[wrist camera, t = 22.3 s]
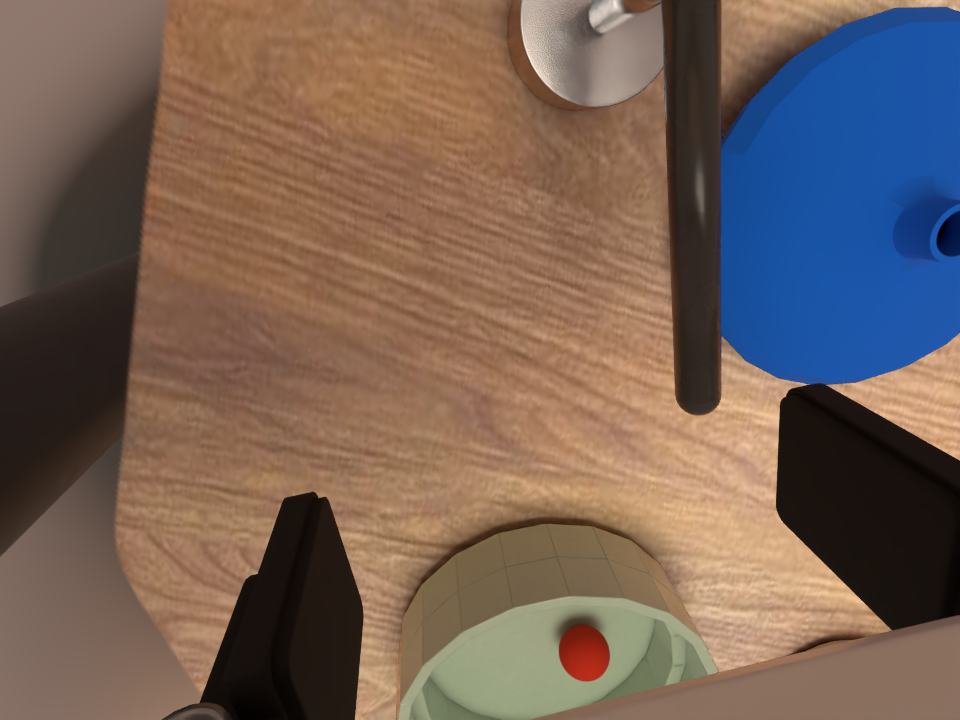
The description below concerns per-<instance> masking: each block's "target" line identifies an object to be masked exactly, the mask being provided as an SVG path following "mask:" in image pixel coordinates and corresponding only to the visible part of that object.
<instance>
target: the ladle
mask: <svg viewBox="0 0 960 720" xmlns="http://www.w3.org/2000/svg"><path fill="white" fill-rule="evenodd" d="M507 34H508V45H509V50H510V55H511V58H512V62H513V65H514V67H515V69H516V71H517V73H518V75H519V77H520V78H521V80H522V82H523V83H524V84H525V86H526V87H527V88H528V89H529V90H530V91H531V92H532V93H533V94H534V95H535V96H536V97H537V98H539V99H540V100H541V101H543V102H544V103H546V104H548V105H550V106H552V107H555V108H558V109H562V110H567V111H584V110H591V109H596V108H602V107H608V106H612V105H616V104H619V103H621V102H624V101H626V100H628V99H630V98H632V97H634V96H635V95H637V94H638V93H640V92H641V91H642V90H644V89H645V88H646V87H647V86H648V85H649V84H650V83H651V82H652V81H653V80H654V79H655V78H656V77H657V75H658V74H659V73H660V72H661V70H662V69H663V67H664V94H665V122H666V150H667V179H668V207H669V235H670V263H671V291H672V319H673V348H674V376H675V396H676V400H677V403H678V404H679V406H680V407H681V408H682V409H683V410H684V411H685V412H687V413H689V414H692V415H705V414H708V413H710V412H712V411H713V410H714V409H715V408H716V407H717V406H718V405H719V403H720V400H721V0H512V3H511V7H510V11H509V17H508V31H507Z"/></svg>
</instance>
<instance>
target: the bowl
mask: <svg viewBox="0 0 960 720" xmlns="http://www.w3.org/2000/svg"><path fill="white" fill-rule="evenodd" d="M576 625H589V626H592V627H594V628H595V629H597V630H598V631H599V632H600V633H601V634H602V635H603V636H604V637H605V639H606V641H607V643H608V646H609V650H610V661H609V665H608V668H607V670H606V671H605V673H604V674H603V675H602V676H601V677H600V678H598V679H596V680H594V681H590V682H584V681H579V680H577V679H575V678H573V677H571V676H570V675H569V674H568V673H567V672H566V671H565V669H564V668H563V666H562V664H561V661H560V658H559V644H560V640H561V638H562V636H563V635H564V633H565V632H566V631H567V630H568V629H570V628H571V627H573V626H576ZM715 673H719V672H718V669H717V667H716V665H715V663H714V661H713V659H712V657H711V655H710V653H709V651H708V649H707V646H706V644H705V642H704V640H703V639H702V637H701V635H700V633H699V632H698V630H697V628H696V626H695V625H694V623H693V621H692V619H691V618H690V616H689V614H688V612H687V610H686V609H685V607H684V605H683V603H682V602H681V600H680V598H679V597H678V595H677V593H676V591H675V590H674V588H673V586H672V584H671V583H670V581H669V579H668V577H667V576H666V574H665V572H664V570H663V569H662V567H661V566H660V564H659V563H658V562H656V561H655V560H654V559H653V558H652V557H651V556H649V555H648V554H647V553H646V552H645V551H643V550H642V549H641V548H640V547H639V546H637V545H636V544H635V543H634V542H633V541H631V540H629V539H626V538H623V537H621V536H618V535H615V534H612V533H610V532H607V531H604V530H601V529H599V528H596V527H593V526H592V527H591V526H579V525H562V524H541V525H536V526H531V527H526V528H521V529H516V530H511V531H506V532H501V533H499V534H495V535H493V536H491V537H489V538H487V539H485V540H483V541H481V542H479V543H477V544H475V545H473V546H471V547H469V548H467V549H465V550H463V551H461V552H459V553H457V554H456V555H454V556H453V557H452V558H451V559H450V560H448V561H447V562H446V563H445V564H444V565H443V566H442V567H441V568H440V569H438V570H437V571H436V572H435V573H434V574H433V575H432V576H431V577H430V578H428V579H427V580H426V581H425V582H424V583H423V584H422V585H421V587H420V589H419V590H418V592H417V594H416V596H415V597H414V599H413V601H412V603H411V604H410V606H409V608H408V610H407V611H406V613H405V615H404V617H403V620H402V627H401V635H400V642H399V650H398V671H397V696H396V720H529V719H533V718H537V717H541V716H545V715H549V714H553V713H557V712H561V711H565V710H569V709H573V708H577V707H581V706H585V705H589V704H593V703H597V702H601V701H605V700H609V699H613V698H617V697H621V696H625V695H629V694H633V693H637V692H641V691H645V690H649V689H653V688H658V687H662V686H666V685H670V684H674V683H678V682H682V681H686V680H690V679H694V678H698V677H702V676H706V675H711V674H715Z"/></svg>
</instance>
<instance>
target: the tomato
mask: <svg viewBox="0 0 960 720" xmlns="http://www.w3.org/2000/svg"><path fill="white" fill-rule="evenodd" d="M559 658H560V661H561V664H562V666H563V668H564V669H565V671H566V672H567V673H568V674H569V675H570V676H571V677H573V678H575V679H577V680H579V681H584V682H590V681H594V680H596V679H598V678H600V677H601V676H602V675H603V674H604V673H605V671H606V670H607V668H608V665H609V661H610V650H609V646H608V643H607V641H606V639H605V637H604V636H603V635H602V634H601V633H600V632H599V631H598V630H597V629H595V628H594V627H592V626H589V625H576V626H573V627H571V628H570V629H568V630H567V631H566V632H565V633H564V635H563V636H562V638H561V640H560V644H559Z"/></svg>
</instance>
